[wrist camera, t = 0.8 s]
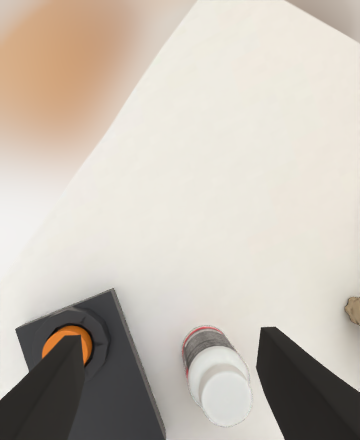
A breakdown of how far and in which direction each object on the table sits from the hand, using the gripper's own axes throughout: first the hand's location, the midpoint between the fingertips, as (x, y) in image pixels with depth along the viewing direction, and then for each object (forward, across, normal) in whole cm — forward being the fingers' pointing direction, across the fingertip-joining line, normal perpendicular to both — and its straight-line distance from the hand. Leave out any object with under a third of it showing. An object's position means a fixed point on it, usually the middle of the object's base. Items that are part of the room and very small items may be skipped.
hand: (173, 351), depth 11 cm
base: (+15, +7, +16) cm, 23 cm away
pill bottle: (+15, -5, +14) cm, 21 cm away
